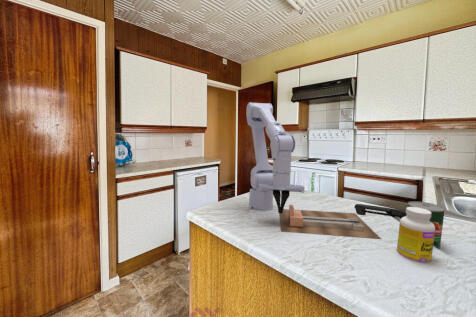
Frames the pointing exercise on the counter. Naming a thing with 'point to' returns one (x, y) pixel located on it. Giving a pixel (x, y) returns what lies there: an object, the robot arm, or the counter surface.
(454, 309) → the counter surface
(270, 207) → the robot arm
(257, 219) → the counter surface
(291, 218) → the sleeve
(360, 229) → the fixed tong arm
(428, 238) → the supplement bottle
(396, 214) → the door handle
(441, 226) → the canned tomato
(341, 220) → the tong arm
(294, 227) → the walnut board
